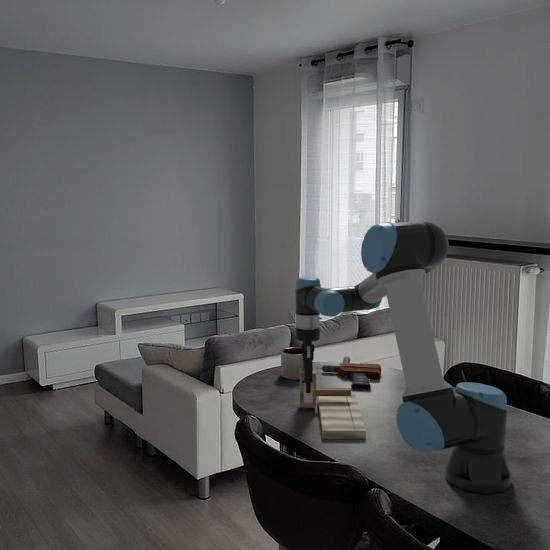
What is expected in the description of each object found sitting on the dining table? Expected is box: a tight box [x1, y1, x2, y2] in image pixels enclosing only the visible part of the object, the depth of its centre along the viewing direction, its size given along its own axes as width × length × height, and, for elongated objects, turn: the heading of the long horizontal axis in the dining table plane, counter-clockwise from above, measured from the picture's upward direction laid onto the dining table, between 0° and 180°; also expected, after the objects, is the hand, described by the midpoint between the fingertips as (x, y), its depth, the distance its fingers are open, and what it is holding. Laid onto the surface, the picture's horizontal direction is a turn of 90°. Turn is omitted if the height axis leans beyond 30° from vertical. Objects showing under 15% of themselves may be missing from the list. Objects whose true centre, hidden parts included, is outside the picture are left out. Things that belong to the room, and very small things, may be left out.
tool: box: [316, 356, 382, 391], centre depth 237 cm, size 4×27×30 cm
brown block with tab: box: [299, 367, 352, 409], centre depth 203 cm, size 6×16×11 cm, turn 89°
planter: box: [280, 346, 304, 381], centre depth 237 cm, size 11×11×10 cm
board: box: [317, 394, 367, 440], centre depth 195 cm, size 30×12×2 cm, turn 179°
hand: (307, 398), depth 203 cm, fingers closed on brown block with tab, 6 cm apart
